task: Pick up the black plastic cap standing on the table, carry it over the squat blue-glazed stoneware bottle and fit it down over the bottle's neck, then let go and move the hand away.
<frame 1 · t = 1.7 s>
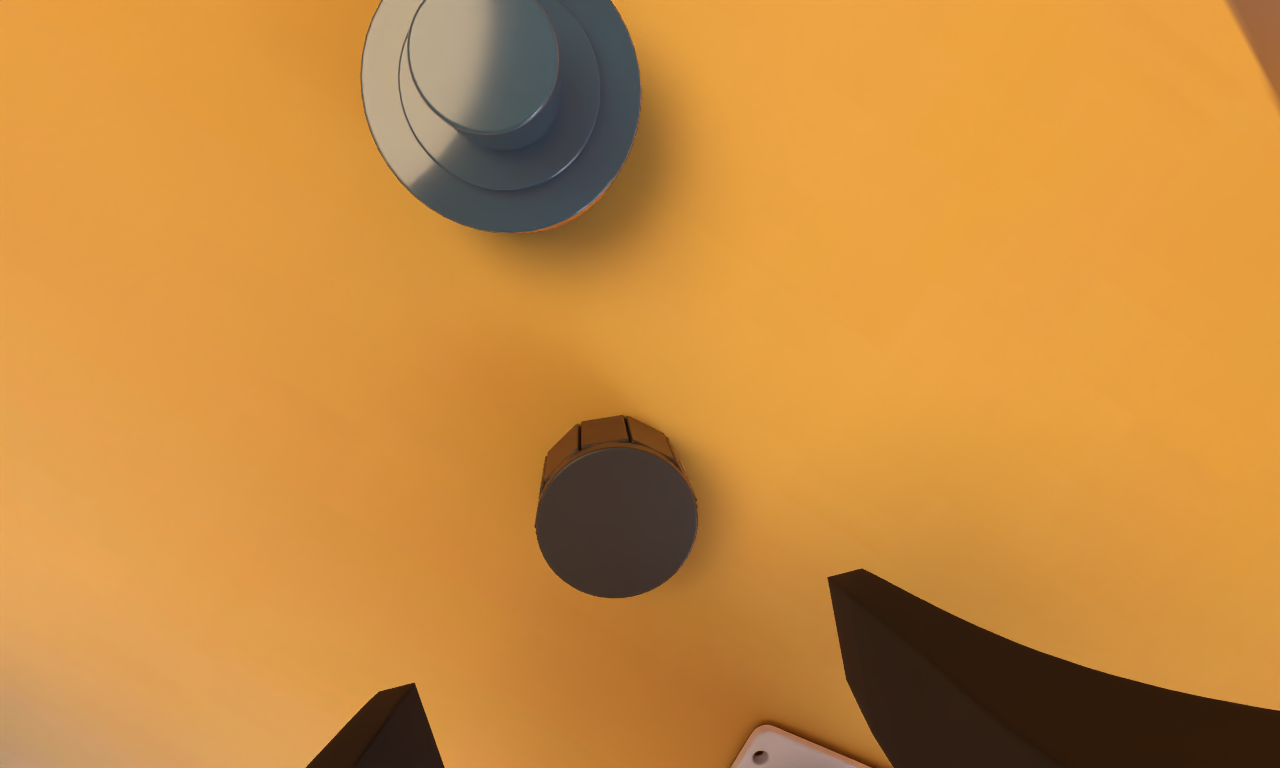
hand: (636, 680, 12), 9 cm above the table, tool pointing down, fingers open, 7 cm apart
cap: (612, 484, 21), on the table
bottle: (517, 116, 18), on the table
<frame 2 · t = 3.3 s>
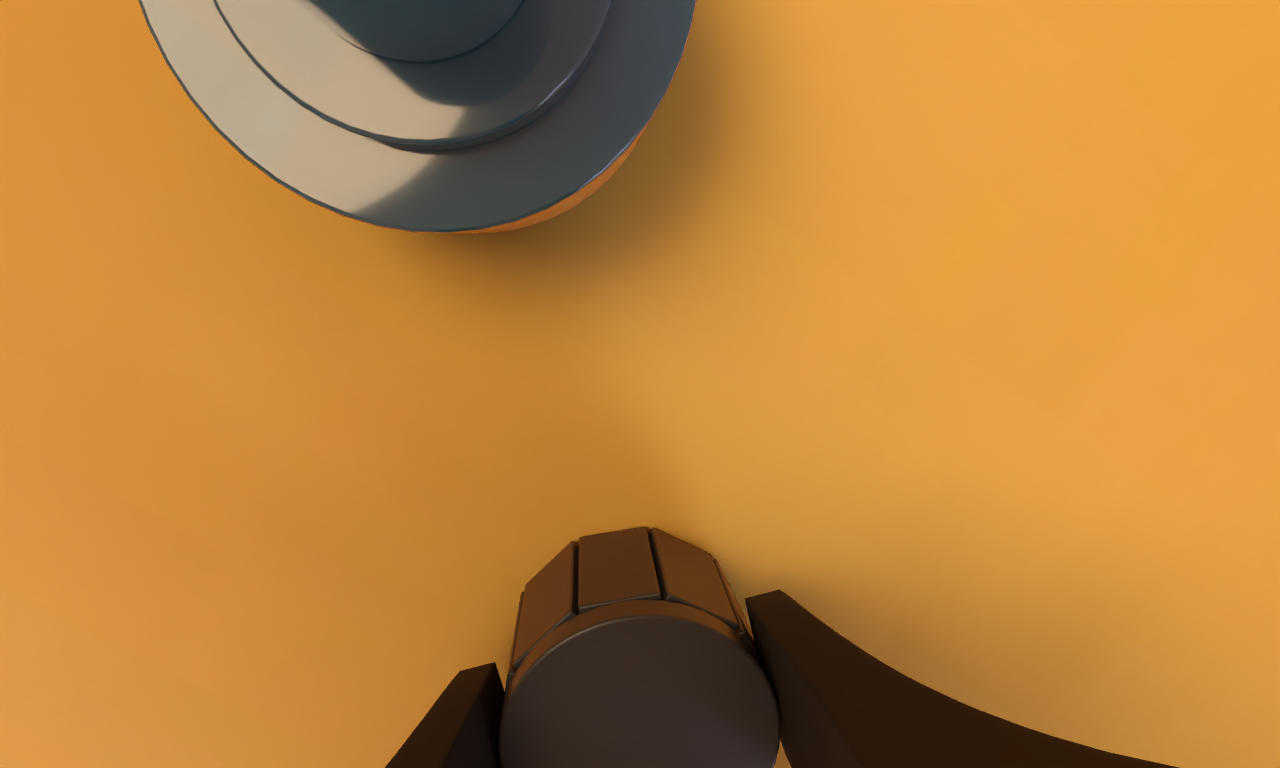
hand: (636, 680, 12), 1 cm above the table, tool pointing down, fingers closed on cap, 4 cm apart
cap: (628, 633, 13), on the table, touching gripper
bottle: (470, 32, 11), on the table
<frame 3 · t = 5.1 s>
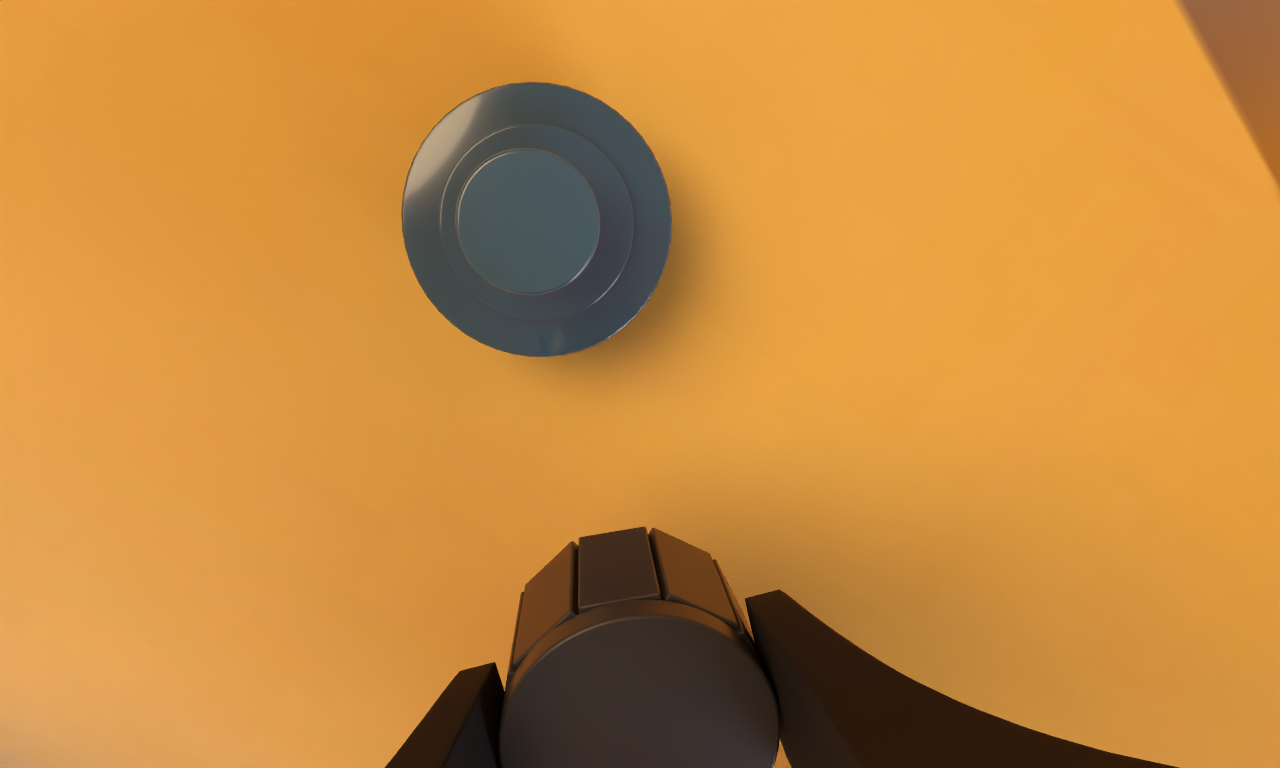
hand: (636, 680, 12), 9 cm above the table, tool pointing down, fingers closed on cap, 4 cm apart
cap: (628, 633, 13), point 8 cm above the table, touching gripper
bottle: (546, 226, 19), on the table
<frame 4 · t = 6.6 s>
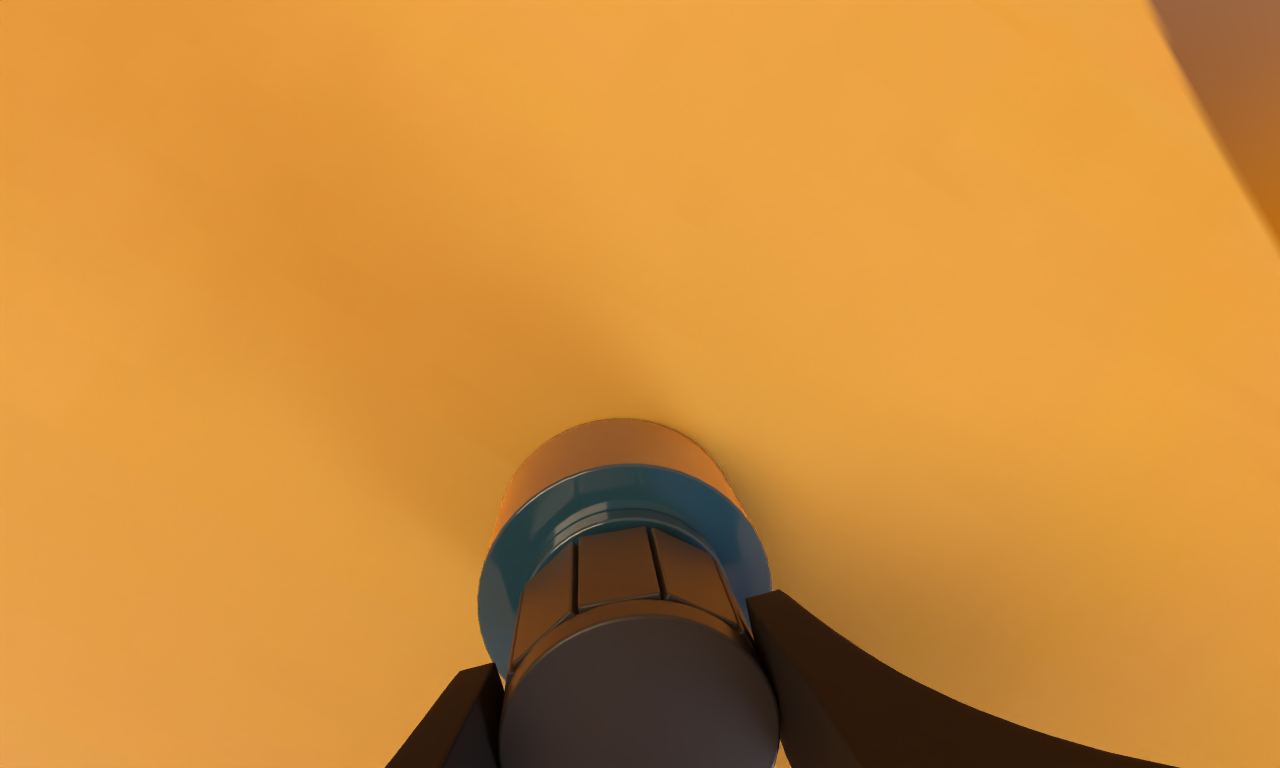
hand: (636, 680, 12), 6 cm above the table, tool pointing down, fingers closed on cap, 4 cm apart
cap: (628, 633, 13), point 4 cm above the table, touching gripper
bottle: (618, 533, 17), on the table
when the fingers open (5 cm above the table, at t = 7.2 s): cap stays where it is, resting on bottle.
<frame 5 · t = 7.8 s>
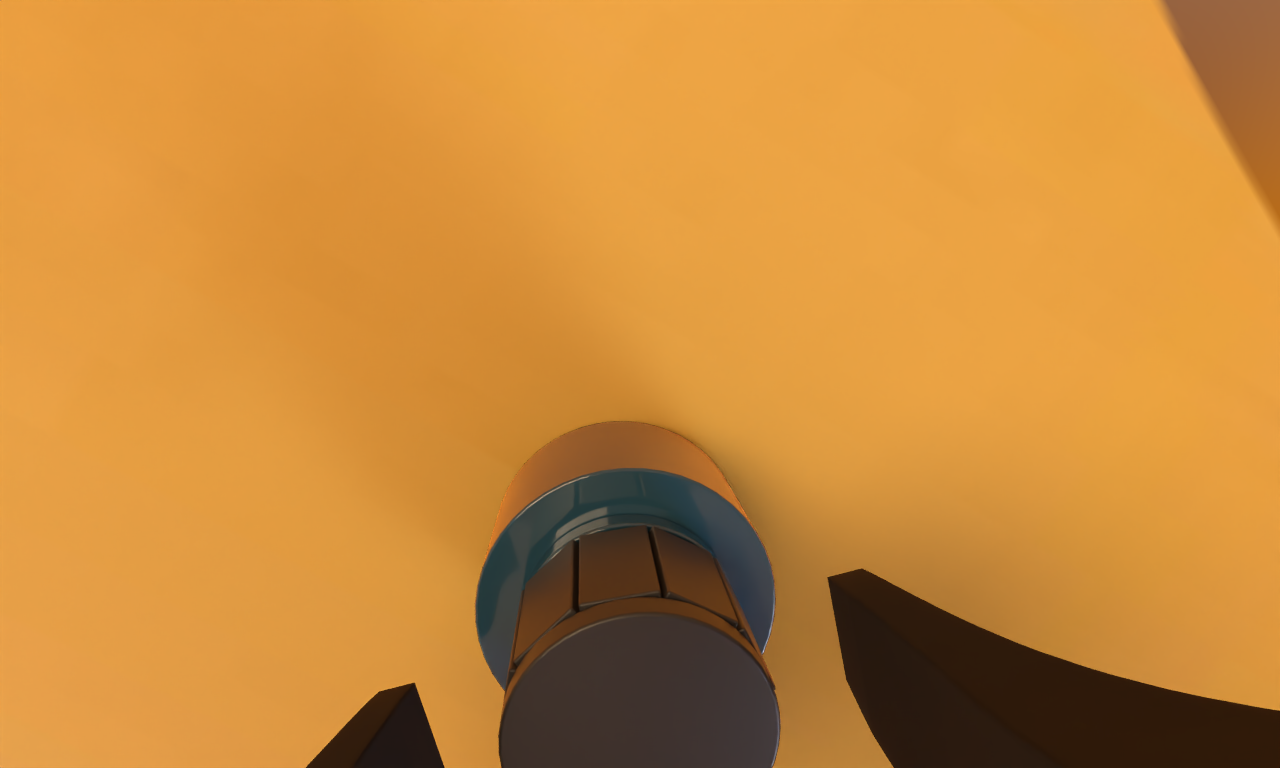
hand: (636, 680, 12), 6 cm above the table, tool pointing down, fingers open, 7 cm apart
cap: (628, 631, 13), point 4 cm above the table, touching bottle
bottle: (619, 538, 17), on the table
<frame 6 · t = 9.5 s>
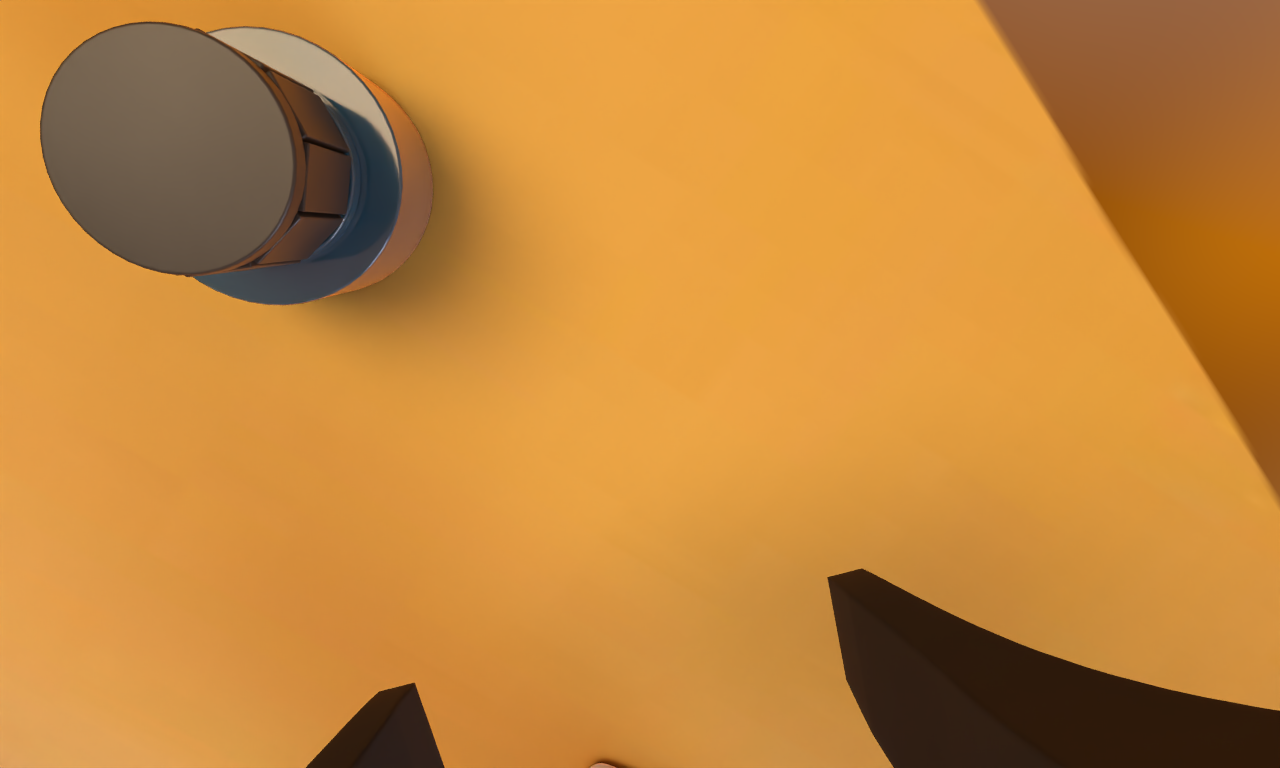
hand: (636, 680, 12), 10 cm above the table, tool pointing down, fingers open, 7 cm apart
cap: (248, 167, 15), point 4 cm above the table, touching bottle
bottle: (320, 182, 19), on the table
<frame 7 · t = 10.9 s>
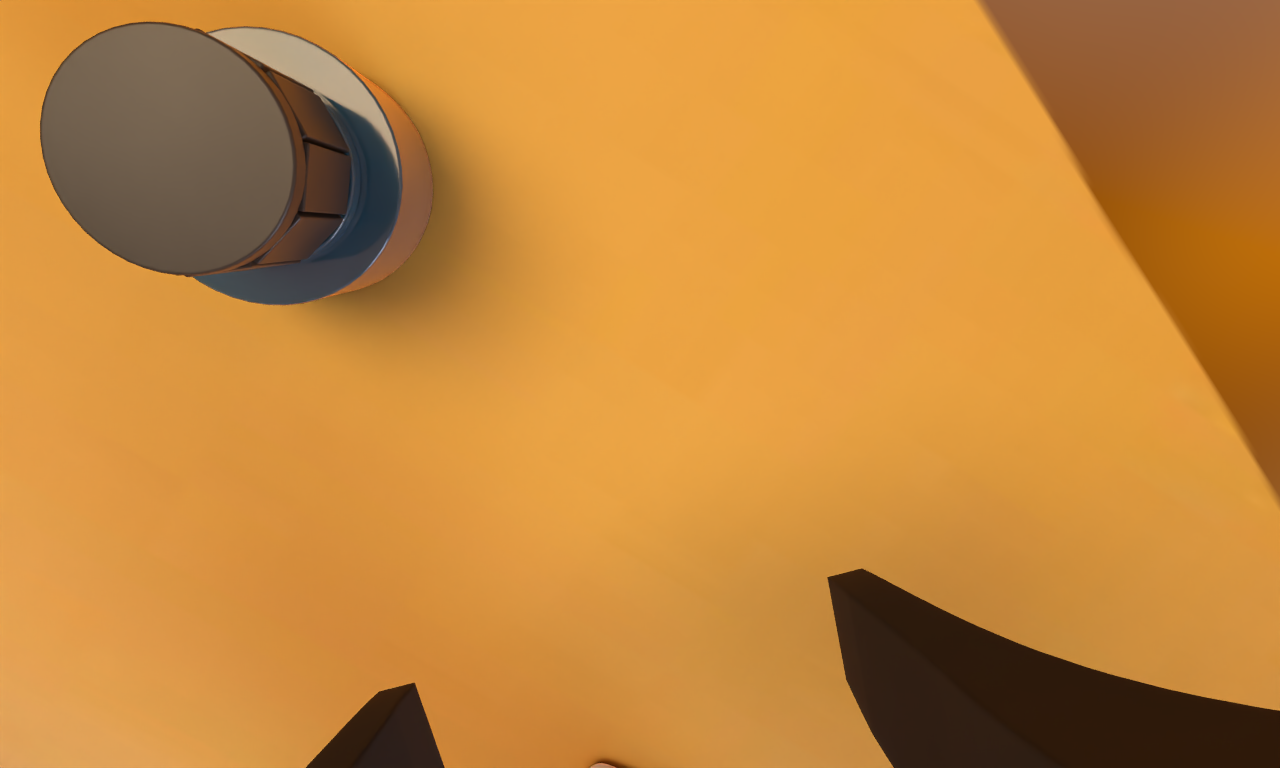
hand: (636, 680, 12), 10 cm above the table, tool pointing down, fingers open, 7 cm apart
cap: (248, 167, 15), point 4 cm above the table, touching bottle
bottle: (320, 182, 19), on the table
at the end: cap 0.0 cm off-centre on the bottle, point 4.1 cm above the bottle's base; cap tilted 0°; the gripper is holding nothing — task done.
